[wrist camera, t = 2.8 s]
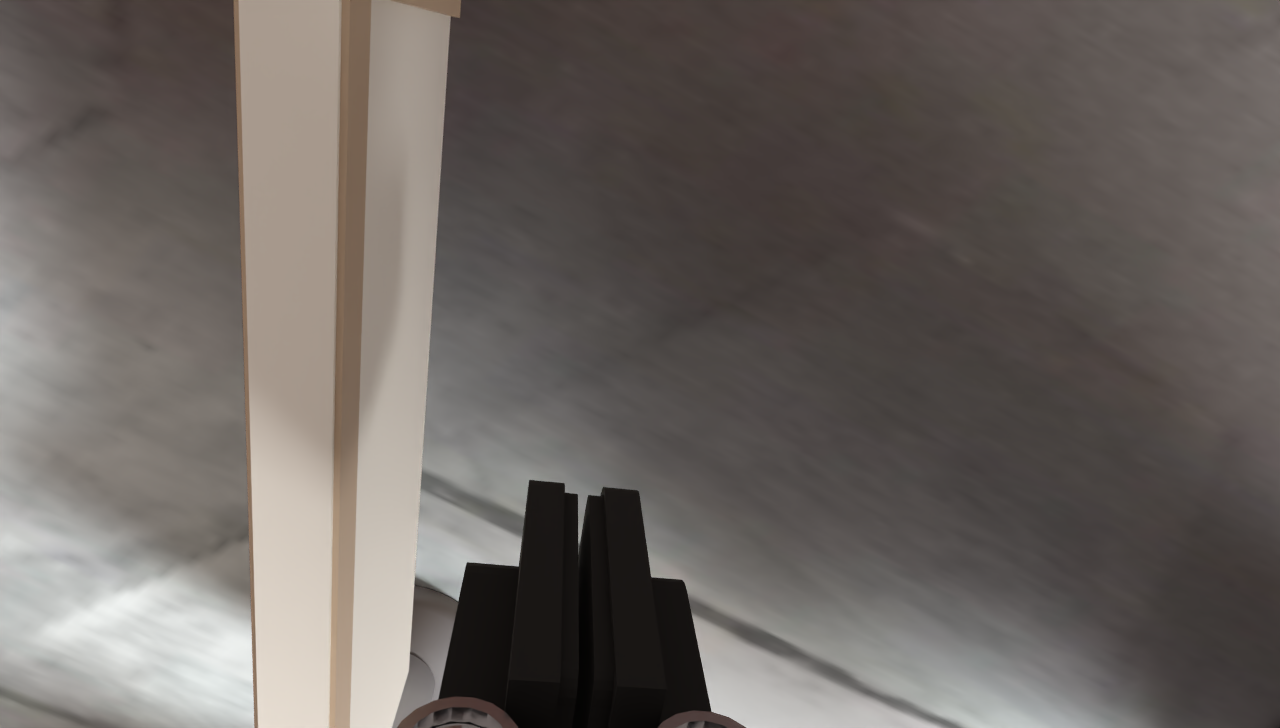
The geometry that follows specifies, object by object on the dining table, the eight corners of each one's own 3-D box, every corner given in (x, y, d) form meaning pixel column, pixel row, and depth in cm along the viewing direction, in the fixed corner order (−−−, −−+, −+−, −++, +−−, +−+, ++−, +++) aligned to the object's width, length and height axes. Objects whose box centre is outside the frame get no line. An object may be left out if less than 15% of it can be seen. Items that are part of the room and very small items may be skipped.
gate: (432, 716, 25) (324, 1160, 15) (351, 710, 25) (186, 1158, 15) (494, -55, 17) (351, -211, 7) (374, -77, 17) (46, -272, 7)
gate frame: (589, -193, 17) (581, -637, 6) (484, 738, 27) (408, 1207, 16) (-324, -381, 15) (-2732, -1521, 4) (-77, 698, 25) (-602, 1201, 14)
